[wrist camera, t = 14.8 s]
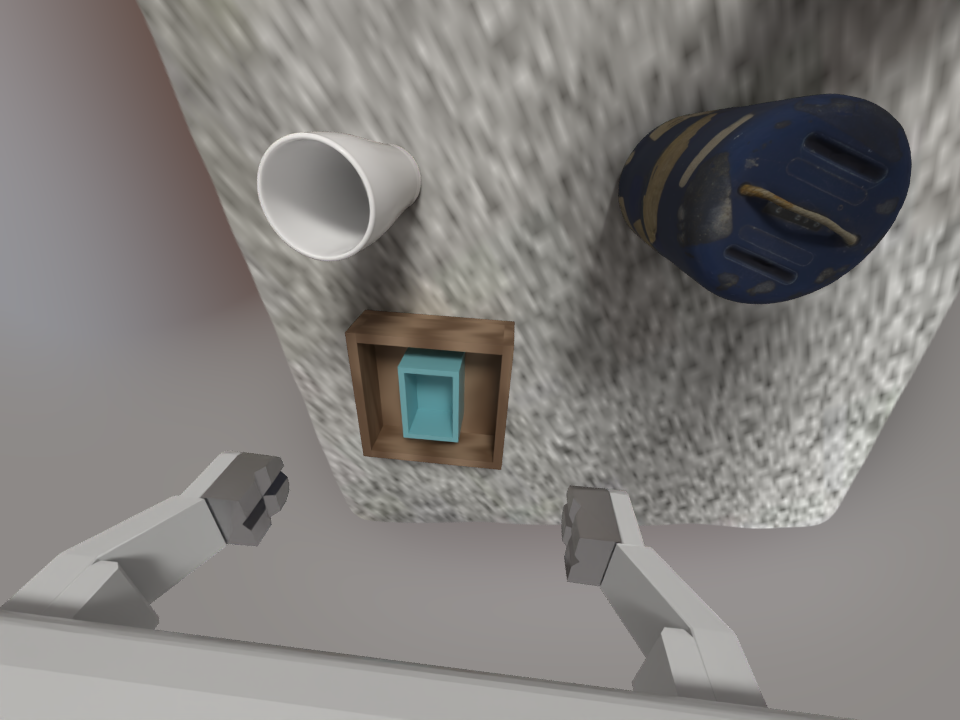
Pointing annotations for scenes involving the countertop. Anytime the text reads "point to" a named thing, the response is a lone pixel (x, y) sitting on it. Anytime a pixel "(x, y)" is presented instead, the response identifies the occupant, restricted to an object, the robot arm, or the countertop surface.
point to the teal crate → (432, 393)
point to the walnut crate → (377, 394)
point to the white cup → (334, 191)
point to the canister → (768, 193)
